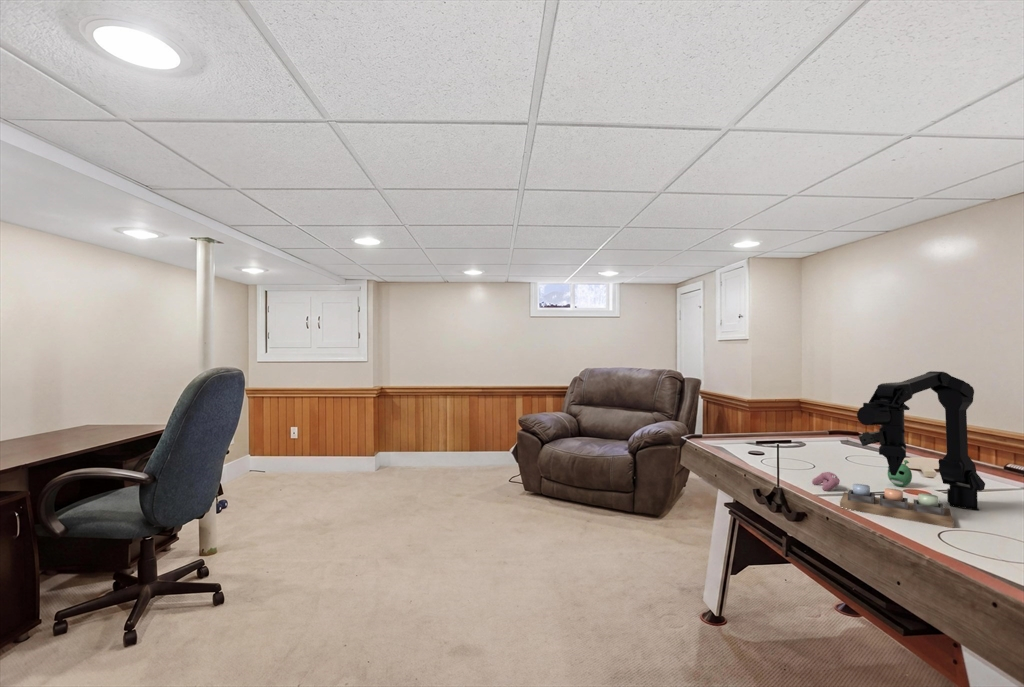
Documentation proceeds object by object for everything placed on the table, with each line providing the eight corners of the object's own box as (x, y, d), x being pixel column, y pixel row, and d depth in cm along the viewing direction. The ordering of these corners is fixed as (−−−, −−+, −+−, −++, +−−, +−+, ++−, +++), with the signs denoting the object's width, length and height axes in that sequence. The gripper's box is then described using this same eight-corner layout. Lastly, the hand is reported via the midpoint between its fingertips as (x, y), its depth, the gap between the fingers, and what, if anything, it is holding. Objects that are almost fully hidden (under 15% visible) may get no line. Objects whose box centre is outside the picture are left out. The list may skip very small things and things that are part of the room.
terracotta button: (902, 500, 145) (902, 490, 145) (902, 503, 141) (902, 493, 142) (884, 497, 148) (884, 487, 148) (884, 500, 144) (884, 490, 144)
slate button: (870, 494, 150) (870, 485, 150) (869, 498, 147) (869, 488, 147) (853, 492, 153) (853, 483, 153) (852, 495, 149) (852, 485, 150)
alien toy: (882, 485, 175) (882, 458, 176) (894, 482, 178) (893, 456, 179) (904, 489, 169) (904, 462, 169) (916, 487, 172) (915, 460, 172)
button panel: (949, 515, 141) (949, 501, 142) (953, 527, 131) (953, 513, 131) (844, 498, 158) (844, 486, 158) (840, 508, 147) (839, 495, 148)
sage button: (937, 505, 140) (937, 495, 140) (938, 509, 136) (938, 498, 136) (918, 502, 142) (918, 492, 143) (918, 505, 139) (918, 495, 139)
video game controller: (835, 496, 165) (844, 479, 165) (822, 490, 166) (831, 472, 166) (822, 488, 175) (831, 472, 175) (810, 482, 176) (819, 466, 176)
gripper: (862, 419, 158) (862, 466, 157) (857, 425, 143) (858, 476, 143) (905, 422, 150) (906, 471, 150) (905, 428, 136) (906, 483, 136)
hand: (893, 475), depth 145 cm, fingers closed
